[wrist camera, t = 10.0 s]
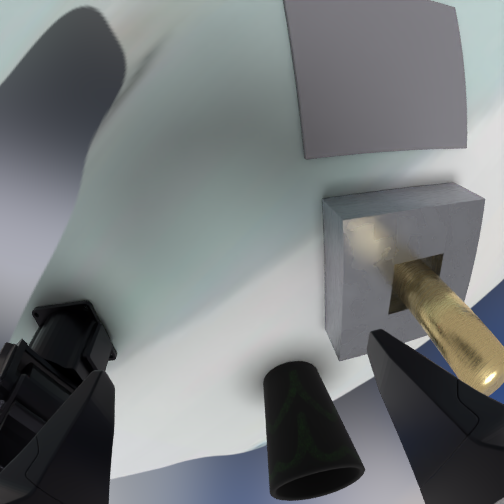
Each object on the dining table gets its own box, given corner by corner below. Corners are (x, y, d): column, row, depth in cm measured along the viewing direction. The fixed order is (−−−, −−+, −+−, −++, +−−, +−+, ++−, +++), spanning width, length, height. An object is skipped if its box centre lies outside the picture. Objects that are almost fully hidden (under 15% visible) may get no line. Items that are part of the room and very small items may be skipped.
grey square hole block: (325, 329, 27) (339, 361, 23) (322, 198, 21) (343, 220, 18) (436, 299, 27) (457, 324, 24) (453, 182, 22) (485, 198, 18)
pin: (369, 271, 25) (463, 404, 12) (385, 236, 23) (500, 360, 11) (397, 278, 25) (490, 398, 13) (413, 246, 24) (522, 358, 12)
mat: (304, 158, 20) (306, 159, 20) (280, -15, 14) (281, -17, 14) (463, 147, 20) (466, 148, 20) (451, 8, 15) (454, 7, 14)
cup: (282, 343, 27) (315, 464, 17) (342, 364, 30) (383, 464, 19) (238, 391, 30) (251, 499, 19) (297, 407, 32) (321, 500, 22)
